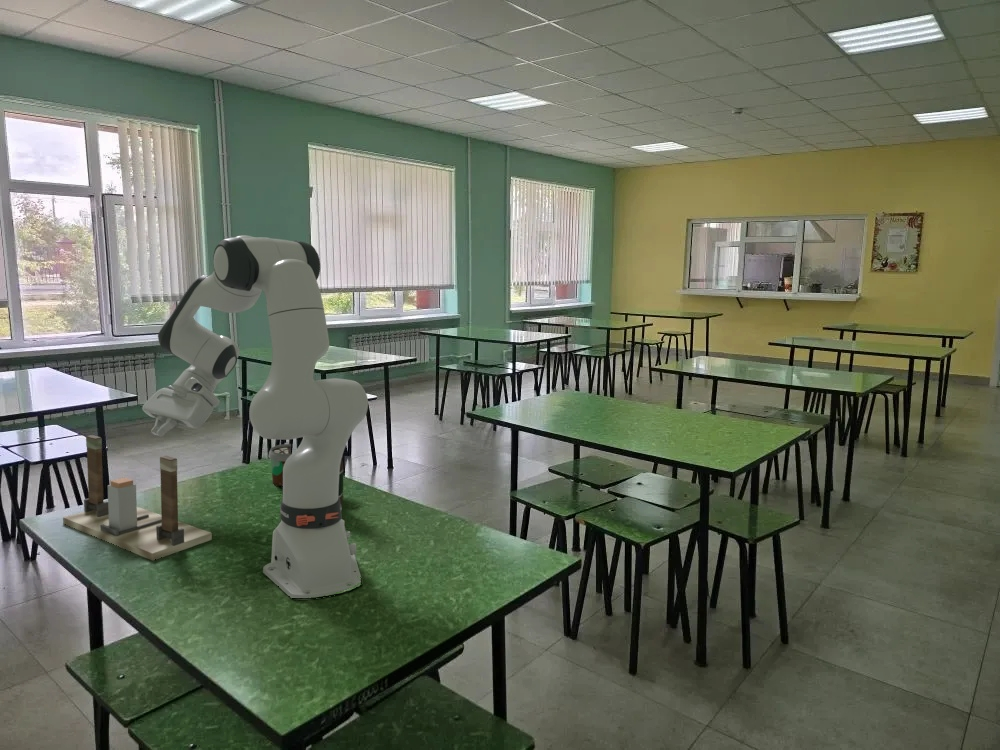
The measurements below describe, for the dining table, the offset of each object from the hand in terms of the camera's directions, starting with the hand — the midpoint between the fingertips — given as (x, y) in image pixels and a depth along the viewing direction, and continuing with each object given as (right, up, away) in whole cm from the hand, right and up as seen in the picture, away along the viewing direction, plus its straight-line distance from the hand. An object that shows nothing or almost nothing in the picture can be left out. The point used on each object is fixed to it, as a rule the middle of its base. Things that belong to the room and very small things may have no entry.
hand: (155, 434), depth 164 cm
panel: (+2, -21, -12) cm, 24 cm away
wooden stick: (-11, -17, -6) cm, 21 cm away
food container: (+21, -17, +28) cm, 39 cm away
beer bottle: (+40, -21, +7) cm, 46 cm away
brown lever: (+13, -20, -20) cm, 31 cm away
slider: (0, -20, -14) cm, 24 cm away
